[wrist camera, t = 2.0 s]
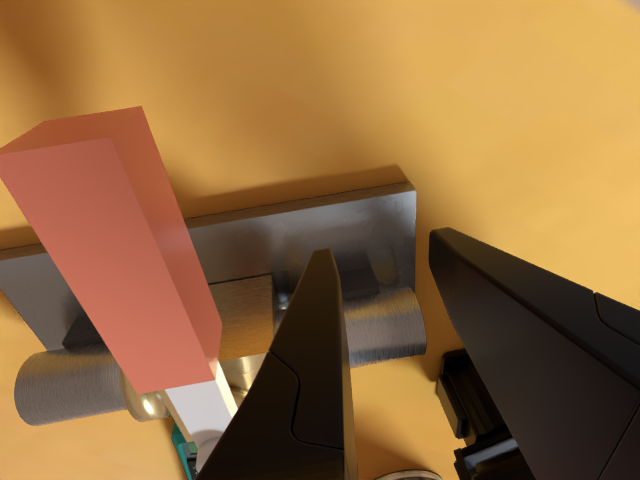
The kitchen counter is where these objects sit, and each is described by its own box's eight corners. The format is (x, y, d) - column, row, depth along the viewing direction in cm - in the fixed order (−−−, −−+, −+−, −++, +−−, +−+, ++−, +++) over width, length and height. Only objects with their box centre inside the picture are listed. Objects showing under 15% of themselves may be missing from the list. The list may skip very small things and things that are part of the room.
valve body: (409, 181, 23) (473, 266, 16) (408, 343, 31) (451, 447, 24) (-6, 251, 22) (-130, 372, 15) (101, 399, 30) (52, 524, 23)
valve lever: (258, 419, 20) (257, 476, 18) (204, 430, 20) (196, 487, 18) (141, 106, 11) (110, 136, 9) (44, 121, 11) (-13, 156, 9)
